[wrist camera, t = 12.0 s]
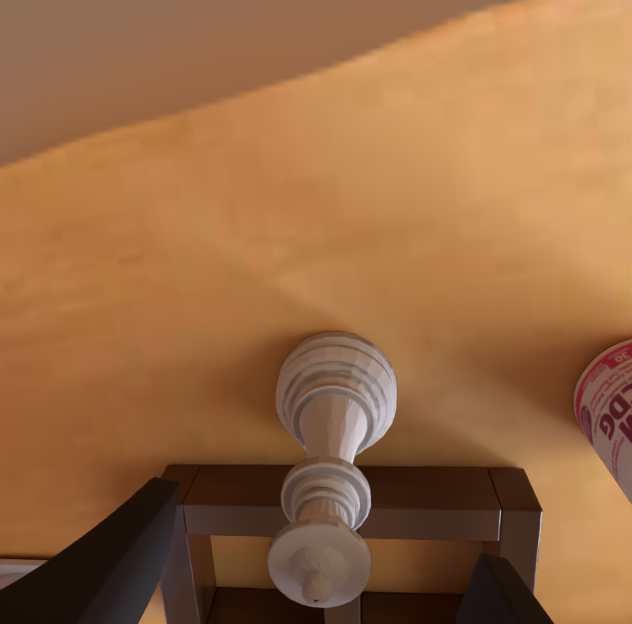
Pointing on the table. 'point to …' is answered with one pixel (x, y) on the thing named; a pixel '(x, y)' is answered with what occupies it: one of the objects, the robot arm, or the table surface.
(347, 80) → the table surface
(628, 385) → the pill bottle
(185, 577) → the stand
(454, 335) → the table surface
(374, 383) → the chess piece
